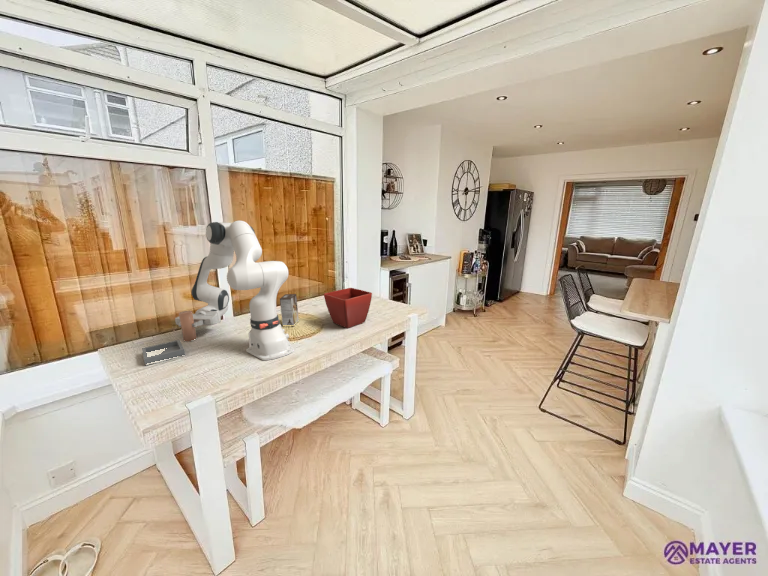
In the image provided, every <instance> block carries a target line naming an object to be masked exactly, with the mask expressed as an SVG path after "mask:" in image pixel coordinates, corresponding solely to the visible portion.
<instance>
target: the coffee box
mask: <svg viewBox="0 0 768 576" xmlns="http://www.w3.org/2000/svg"><path fill="white" fill-rule="evenodd" d="M279 303H280V314H281V323H282V326H283V325H294V324H295V323H296V322H297V321H298V320H299V321H300V319H299V310H298V309H299V307H298V299H297V293H291V294H290V293H287V294H286V293H285V294H284V295H283V296H281V297H280V298H279ZM299 321H298V322H299Z"/></svg>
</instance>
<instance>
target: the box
mask: <svg viewBox="0 0 768 576" xmlns="http://www.w3.org/2000/svg"><path fill="white" fill-rule="evenodd" d="M164 348H165V351H163V352H162V353H161V354H159V355H155V356H151V357H147V353H146V352H151V351H155V350H160V349H164ZM166 348H167V349H166ZM185 351H186V350H185V348H184V346H183V344H182V342H181V340H180V339H177V340H171V341H167V342H164V343H163V342H162V343H160V344H159V343H158V344H155V345H151V346H150V345H149V346H146V347H145V346H144V347H143V348H141V352H142V355H143V360H144V365H145V364H147V363H151V362H155V361H160V360H164V359H169V358H173V357H177V356H182V355H185V356H186V352H185ZM182 357H183V356H182Z"/></svg>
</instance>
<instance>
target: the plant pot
mask: <svg viewBox="0 0 768 576" xmlns="http://www.w3.org/2000/svg"><path fill="white" fill-rule="evenodd" d="M323 297H324V298H323V299H324V301H325V305H326V307H327V311H328V314H329V316H330V319H331V321H332V322H333V324H335V325H338V326H340V327H343V328H347V329H348V328H352V327H355V326H358V325H361V324H364V323H366V320H367V318H368V313H369V311H370V307H371V303H372V297H373V292H370V291H367V290H362V289H358V288H354V287H348V288H343V289H338V290H334V291H329V292H325V293H323Z"/></svg>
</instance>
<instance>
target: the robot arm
mask: <svg viewBox="0 0 768 576" xmlns="http://www.w3.org/2000/svg"><path fill="white" fill-rule="evenodd" d="M205 236H206V239H207V241H208V242H209V243H210V245H209V246H210V247H209V254H208V255H207V256H205V257H204V258H202V260H201V262H200V264H199V269H198V272H197V276H196V278H195V281H194V283H193V286H192V288H191V296H192V298H193V299H194V300H195V301H198V302H203V303H206V304H207V305H206V306H203V307H200V308H198V309H197V310H196V311H195V313H192V314H193V319H194V323H192V327H195V328H196V327H199V326H214V325H217V324H218V323H221V321H222V320H221V318H222V316H224V315H225V314H226V312H228V310H229V301H230V296H229V293H228V291H227V290H226V289H225V288H224V289H223V288H221V287H217V286H214V285H212V284H209V283H208V279H209V275H210V272H211V270H218V269H219V270H220V269H225V268H227V267H229V266H230V265H232V263H233V260H234V255H235V258H236V259H235V263H234V264H233V266H231V267H230V268H229V269H228V271H227V273H226V281H227V284H228V286H229V287H230V288H231V289H233V290H235V291H248V290H249V291H250V290H254V289H255V290H256V289H259V288H260V289H259V292H258V293H257V294H256V295H255V296H254V295H253V297H252V298H251V299H250V301H249V302H248V303H249V304H248V305H249V313H250V318H249V320H250V327H251V329H250V330H249V331H248V344H249V347H247V348H246V353H248V354H250V355H252V356H254V357H255V358H258V359H259V360H262V361H268V360H269V361H270V360H275V359H278V358H282V357H284V356H287V355H290V354H292V353H293V352H294V350H295V349H294V347H293V345H292V344H291V342H290V341H289V338H290V335H289V333H285V330H286V329H285V328H283V326H282V325H281V322H280V318H279V315H278V312H277V311H278V310H277V296H278V293H279V290H280V288H281V287H282V286H283V284H284V283H285V282H286V281H287V280H288V278H289V272H290V271H289V268H288V266H287V265H286V264H285V262H283V261H282V260H281V261H279V260H268V261H267V260H266V261H260V262H257V261H258V260H259V259H260V258H261V257H262V254H263V249H262V246H261V245H260V242H259V240H258V238H257V235H256V232H255V229H254V227H252V226H251V225H249V224H248V222H246V221H244V220H236V221H232V222H226V221H225V222H223V221H222V222H218V221H214V222H210V223H208V224H207V225H206V227H205ZM174 321H175V325H177V326H178V327H181V323H180V318H179V316H176V317H175V318H174Z"/></svg>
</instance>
